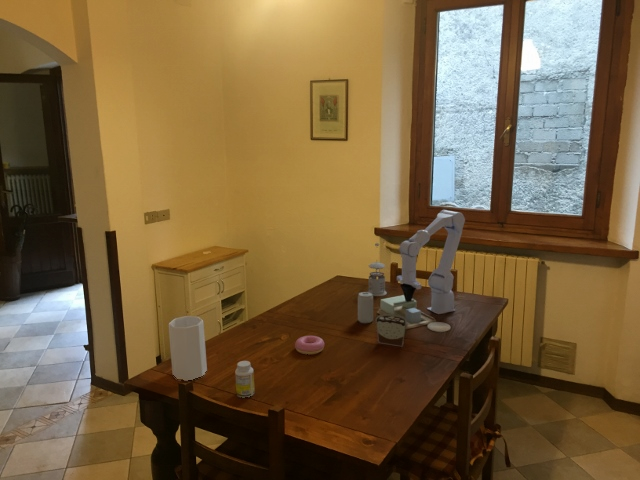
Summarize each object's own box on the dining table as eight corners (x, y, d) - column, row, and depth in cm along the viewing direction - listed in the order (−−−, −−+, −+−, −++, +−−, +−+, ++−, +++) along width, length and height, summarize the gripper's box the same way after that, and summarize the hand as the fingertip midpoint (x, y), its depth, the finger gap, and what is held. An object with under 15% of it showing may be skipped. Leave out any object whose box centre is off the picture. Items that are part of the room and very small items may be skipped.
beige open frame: (405, 307, 233) (405, 303, 232) (435, 322, 214) (435, 318, 214) (377, 313, 226) (377, 309, 226) (406, 329, 208) (406, 325, 207)
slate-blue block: (414, 319, 219) (414, 307, 218) (420, 322, 215) (420, 311, 214) (405, 320, 217) (405, 309, 216) (411, 324, 213) (412, 312, 212)
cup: (189, 384, 166) (185, 330, 162) (165, 376, 172) (160, 323, 168) (214, 370, 175) (210, 319, 171) (190, 363, 181) (186, 313, 177)
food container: (410, 341, 196) (411, 316, 194) (406, 347, 191) (407, 321, 189) (379, 336, 202) (380, 311, 199) (374, 342, 196) (374, 317, 194)
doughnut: (290, 354, 188) (289, 343, 187) (301, 342, 198) (301, 331, 197) (318, 358, 184) (318, 347, 183) (328, 345, 194) (328, 335, 193)
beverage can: (373, 318, 220) (373, 291, 217) (373, 324, 214) (373, 296, 211) (357, 318, 221) (357, 291, 218) (357, 323, 214) (357, 296, 212)
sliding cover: (403, 305, 232) (403, 293, 230) (416, 312, 223) (416, 299, 222) (380, 310, 226) (380, 297, 225) (392, 317, 218) (393, 303, 217)
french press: (365, 295, 250) (365, 245, 244) (367, 288, 261) (367, 239, 255) (386, 296, 248) (387, 245, 243) (387, 289, 259) (387, 240, 254)
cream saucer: (440, 322, 215) (440, 320, 215) (455, 329, 207) (455, 327, 207) (422, 326, 211) (422, 324, 211) (437, 333, 203) (437, 332, 203)
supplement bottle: (246, 387, 164) (244, 357, 161) (258, 393, 160) (256, 362, 158) (232, 395, 159) (230, 364, 157) (244, 400, 156) (243, 369, 154)
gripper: (390, 267, 219) (390, 297, 222) (411, 275, 206) (410, 307, 209) (404, 264, 222) (404, 295, 225) (425, 273, 209) (425, 304, 212)
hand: (408, 301), depth 217 cm, fingers closed
